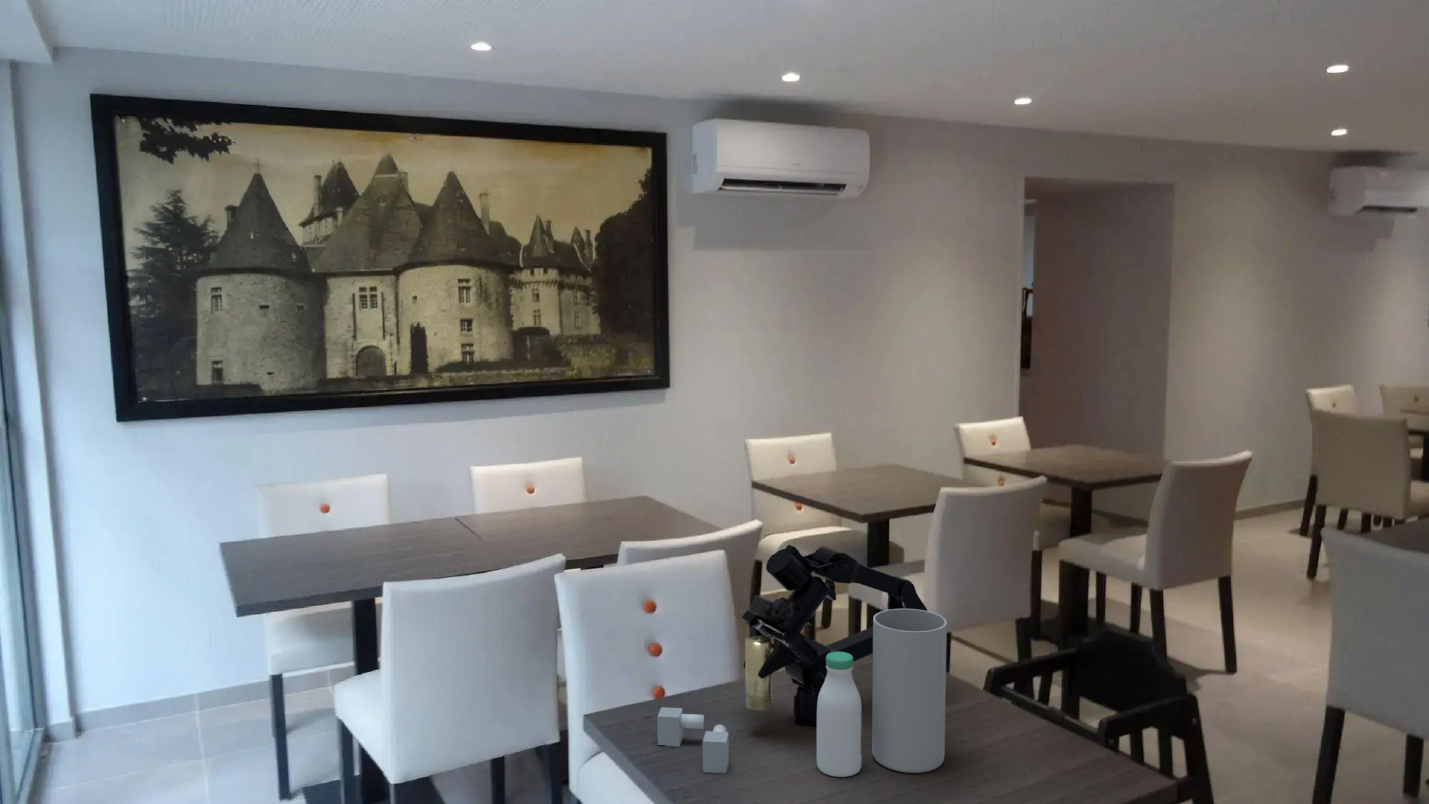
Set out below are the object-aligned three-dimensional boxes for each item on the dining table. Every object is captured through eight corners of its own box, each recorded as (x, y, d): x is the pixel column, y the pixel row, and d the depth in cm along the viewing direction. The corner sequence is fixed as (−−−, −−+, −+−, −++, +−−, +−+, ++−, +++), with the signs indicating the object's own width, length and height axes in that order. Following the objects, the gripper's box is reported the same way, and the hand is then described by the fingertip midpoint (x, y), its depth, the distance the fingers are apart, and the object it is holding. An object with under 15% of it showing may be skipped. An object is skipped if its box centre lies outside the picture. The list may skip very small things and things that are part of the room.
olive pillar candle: (766, 698, 184) (765, 634, 182) (775, 708, 179) (775, 642, 178) (742, 702, 182) (741, 637, 181) (751, 712, 178) (750, 645, 176)
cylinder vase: (902, 781, 163) (903, 636, 160) (857, 751, 174) (858, 615, 171) (959, 764, 169) (962, 624, 166) (913, 736, 180) (915, 604, 177)
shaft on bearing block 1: (657, 745, 177) (657, 716, 176) (661, 735, 181) (661, 707, 180) (701, 747, 176) (701, 718, 175) (704, 737, 180) (704, 709, 179)
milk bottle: (860, 780, 163) (861, 665, 161) (814, 776, 165) (814, 662, 163) (862, 759, 171) (863, 648, 169) (818, 755, 172) (819, 646, 170)
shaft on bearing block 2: (726, 773, 166) (726, 742, 166) (703, 771, 167) (702, 741, 166) (731, 752, 174) (730, 723, 173) (708, 751, 174) (708, 722, 174)
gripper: (749, 568, 188) (700, 633, 184) (805, 592, 172) (752, 664, 168) (783, 601, 193) (736, 665, 189) (840, 627, 177) (790, 699, 172)
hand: (752, 672), depth 179 cm, fingers closed on olive pillar candle, 5 cm apart
